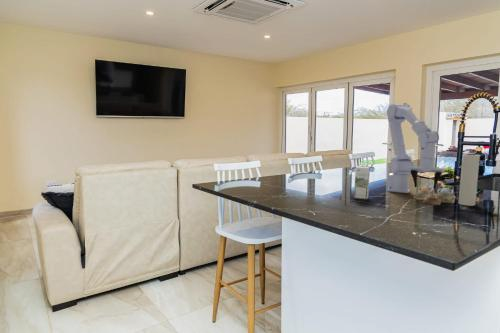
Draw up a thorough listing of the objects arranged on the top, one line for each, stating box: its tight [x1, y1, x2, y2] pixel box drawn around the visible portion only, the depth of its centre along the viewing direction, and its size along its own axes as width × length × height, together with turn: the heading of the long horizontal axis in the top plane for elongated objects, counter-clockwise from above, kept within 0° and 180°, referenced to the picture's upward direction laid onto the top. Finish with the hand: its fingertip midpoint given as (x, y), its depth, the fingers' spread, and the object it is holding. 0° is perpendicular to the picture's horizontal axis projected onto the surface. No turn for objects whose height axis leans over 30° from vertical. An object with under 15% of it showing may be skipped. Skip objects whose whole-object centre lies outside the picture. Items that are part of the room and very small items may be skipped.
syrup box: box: [353, 165, 371, 200], centre depth 156 cm, size 6×6×14 cm
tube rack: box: [412, 186, 457, 204], centre depth 157 cm, size 16×13×4 cm
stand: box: [422, 197, 442, 206], centre depth 148 cm, size 6×6×2 cm
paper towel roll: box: [458, 153, 481, 207], centre depth 144 cm, size 7×6×21 cm
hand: (424, 187), depth 157 cm, fingers open, 7 cm apart
